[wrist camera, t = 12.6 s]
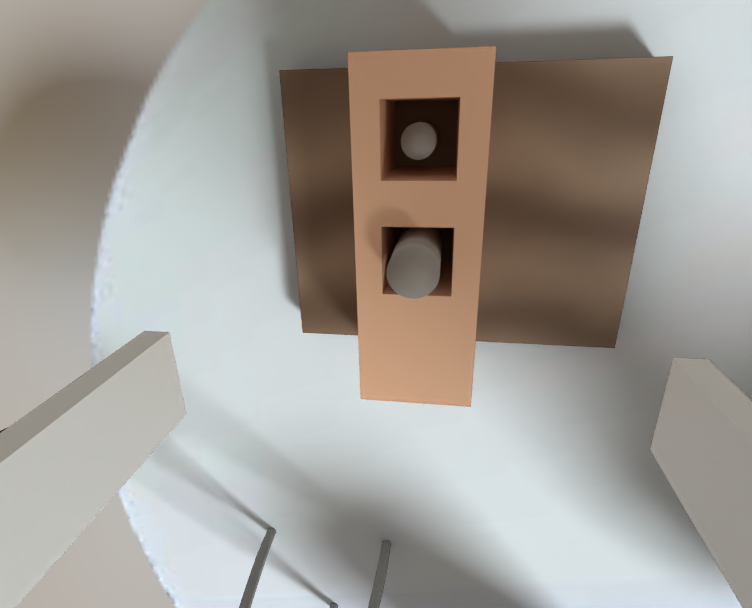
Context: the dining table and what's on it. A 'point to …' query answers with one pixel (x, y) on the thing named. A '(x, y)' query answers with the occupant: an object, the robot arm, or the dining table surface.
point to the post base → (492, 196)
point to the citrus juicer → (373, 604)
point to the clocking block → (418, 222)
